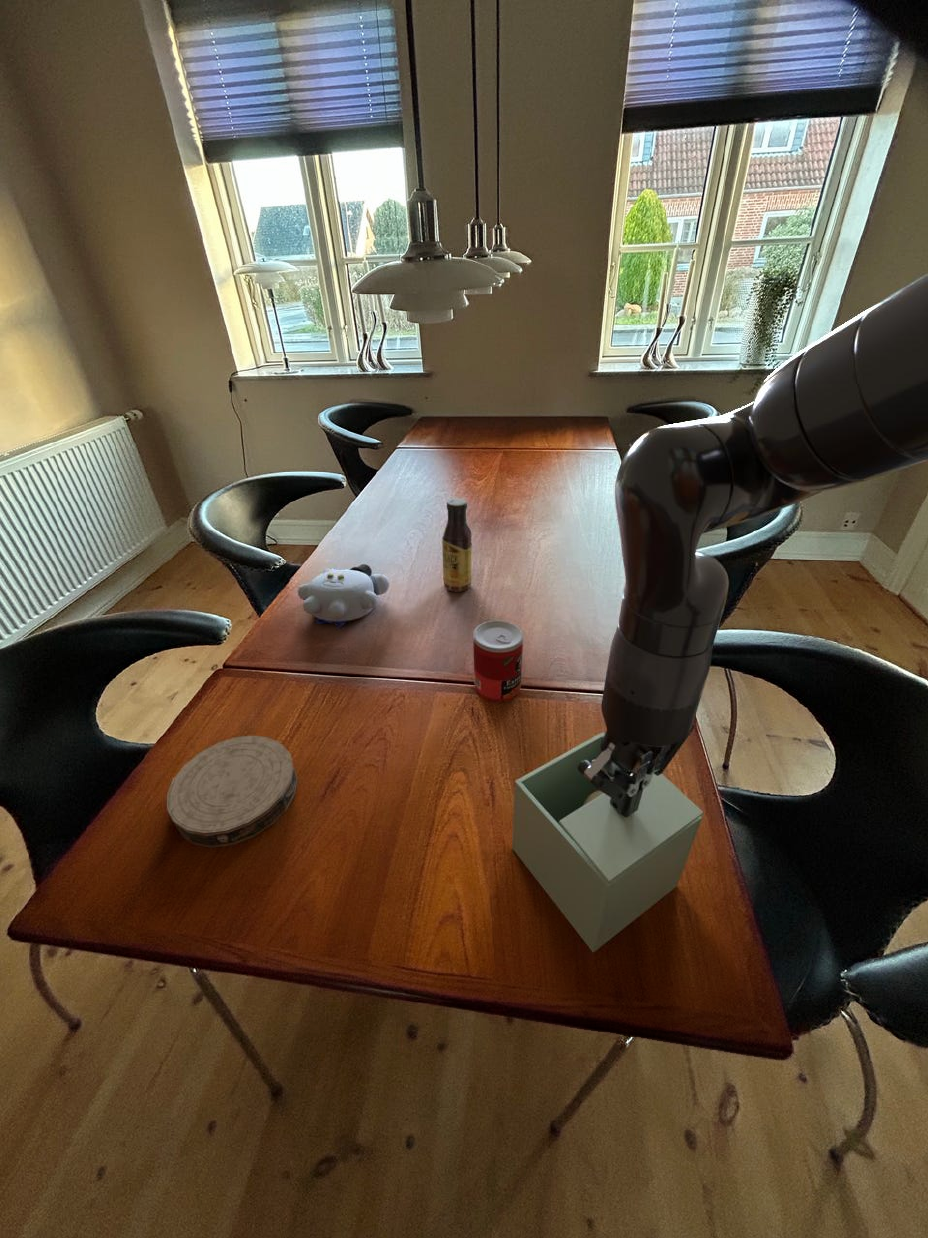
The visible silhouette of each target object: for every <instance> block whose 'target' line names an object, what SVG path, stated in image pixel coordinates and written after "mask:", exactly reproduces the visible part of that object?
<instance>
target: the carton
mask: <svg viewBox="0 0 928 1238" xmlns="http://www.w3.org/2000/svg"><path fill="white" fill-rule="evenodd" d="M604 735H605V733H604V732H599V734H597V735H595V736H593V737H591V738H589V739H588V740H586V741H584V742H582V743H580V744H579V745H577V746H575V747H574V748H571V749H569V750H568V751H566V752H565V753H562V754H561V755H559V756H557V757H555V758H554V759H552V760H550V761H548V762H546V763H545V764H543V765H542V766H539V767H538V768H536V769H534V770H533V771H531V772H529V773H527V774H525V775H523V776H521V777H520V778H518V779H516V780H515V781H514V791H513V792H514V794H513V795H514V796H513V798H514V799H513V817H512V818H513V819H512V820H513V821H512V841H511V842H512V844H511V845H512V846H511V849H512V850H513V852H514V853H515V854H516V855H517V857H518V858H519V859H520V860H521V862H522V863H523V864H524V866H525V867H526V868H527V869H528V871H529V872H530V873H531V875H532V876H533V877H534V878H535V880H536V881H537V883H538V884H539V885H540V887H542V889H543V890H544V891H545V893H546V894H547V895H548V896H549V898H550V899H551V901H552V902H553V903H554V904H555V906H556V907H557V908H558V909H559V911H560V912H561V913H562V915H563V916H564V918H566V920H567V921H568V922H569V923H570V925H571V926H572V927H573V929H574V930H575V932H576V933H577V934H578V935H579V936H580V938H581V939H582V940H583V941H584V943H585V944H586V946H587V947H588V948H589V949H590V950H591V952H592V953H595V952H596V951H597V950H598V949H600V948H601V947H602V946H603V945H605V944H606V943H607V942H609V941H610V940H611V939H612V938H614V937H615V936H616V935H617V934H619V933H620V932H622V930H624V929H625V928H626V927H628V925H630V924H631V923H632V922H634V921H635V920H637V918H639V917H640V916H641V915H643V914H644V913H645V912H646V911H648V910H649V909H650V908H652V907H653V906H654V905H656V904H657V903H658V902H659V901H660V900H661V899H663V898H664V897H665V896H666V895H668V894H669V893H670V892H672V891H673V890H674V889H675V888H677V887H678V886H679V884H680V881H681V878H682V875H683V872H684V870H685V867H686V864H687V861H688V858H689V856H690V853H691V850H692V848H693V845H694V842H695V839H696V837H697V834H698V831H699V828H700V826H701V823H702V820H703V817H702V815H701V816H700V817H698V818H697V819H696V820H694V821H693V822H692V823H690V824H689V825H687V826H686V827H685V828H683V829H682V830H681V831H679V832H678V833H677V834H675V835H674V836H672V837H671V838H670V839H668V840H667V841H666V842H664V843H663V844H661V845H660V846H659V847H657V848H656V849H655V850H653V851H652V852H651V853H649V854H648V855H646V856H645V857H644V858H642V859H641V860H640V861H638V862H637V863H635V864H634V865H633V866H631V867H630V868H629V869H627V870H626V871H625V872H623V873H622V874H620V875H619V876H618V877H616V878H615V879H614V880H612V881H611V882H609V883H608V882H607V881H606V879H605V878H604V877H603V876H602V875H601V873H600V872H599V871H598V870H597V868H596V867H595V866H594V865H593V864H592V862H591V861H590V860H589V859H588V858H587V856H586V855H585V854H584V853H583V852H582V850H581V849H580V848H579V847H578V846H577V844H576V843H575V842H574V841H573V839H572V838H571V837H570V836H569V835H568V833H567V832H566V831H565V830H564V829H563V827H562V826H561V825H560V824H559V821H560V820H562V819H564V818H565V817H567V816H568V815H570V814H571V813H573V812H575V811H576V810H578V809H579V808H581V807H583V804H584V802H585V800H586V799H587V797H588V796H589V795H590V794H592V793H594V792H596V791H600V790H598V789H597V788H596V787H595V786H594V785H593V784H592V783H591V782H590V781H589V780H588V779H587V778H586V777H585V776H584V775H582V774H581V773H580V772H579V771H578V766H579V764H580V763H581V762H582V761H584V760H588V761H589V762H592V760H594V759H596V758H597V757H598V756H599V755H600V754H601V752H602V751H601V749H600V744H601V741H602V739H603V737H604ZM611 768H612V767H611ZM610 774H611V773H610Z"/></svg>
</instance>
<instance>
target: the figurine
mask: <svg viewBox="0 0 928 1238" xmlns="http://www.w3.org/2000/svg"><path fill="white" fill-rule="evenodd" d="M389 588H390V581H389V578H388V577H387V576H386V575H384V574H381V573H375V574H373V571H372V568H371V567H370V566H369V565H368V564H366V563H362V564H360V565H359V566H353V567H351V568H349V569H336V568H326V569H324V570H323V571H322V572H321V574H318V575H317V576H315V577H314V578H312V580H310V582H309V583H304V584H301V585H300V586H299V587H298V590H297V595H298V597H299V598H300V599H301V600H302V601H303V605H302V608H303V611H304V612H305V613H306V614H308V615H313V617H315V618H316V623H317V624H318V625H322V624H324V623H328V624H335V626H337V627H338V628H341V627H342V626H344V625H346V623H347V622H349V621H353V620H358V619H360V618H362V617H364V616H366V615H368V614H369V613H371V611H372V610H373V609H375V608H376V607H377V606H378V604H379V598H378V596H380V595H383V594H385V593H387V592H388V590H389Z"/></svg>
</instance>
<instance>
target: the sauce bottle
mask: <svg viewBox="0 0 928 1238" xmlns="http://www.w3.org/2000/svg"><path fill="white" fill-rule="evenodd" d="M467 509H468V501H467V500H466V499H464V498H461V497H452V498H450V499H448V500H447V501H446V510H447V521H446V525H445V528H444V531H443V535H442V538H441V543H442V544H441V548H442V549H441V550H442V580H443V585H444V587H445V589H446V590H447V591H451V592H454V593H460V592H464V591H467V590H468V589H469V588H470V587H471V585H472V576H473V574H472V572H473V571H472V570H473V569H472V566H473V565H472V563H473V543H472V534H473V533H472V530H471V528H470V526H469V525H468V523H467Z"/></svg>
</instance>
